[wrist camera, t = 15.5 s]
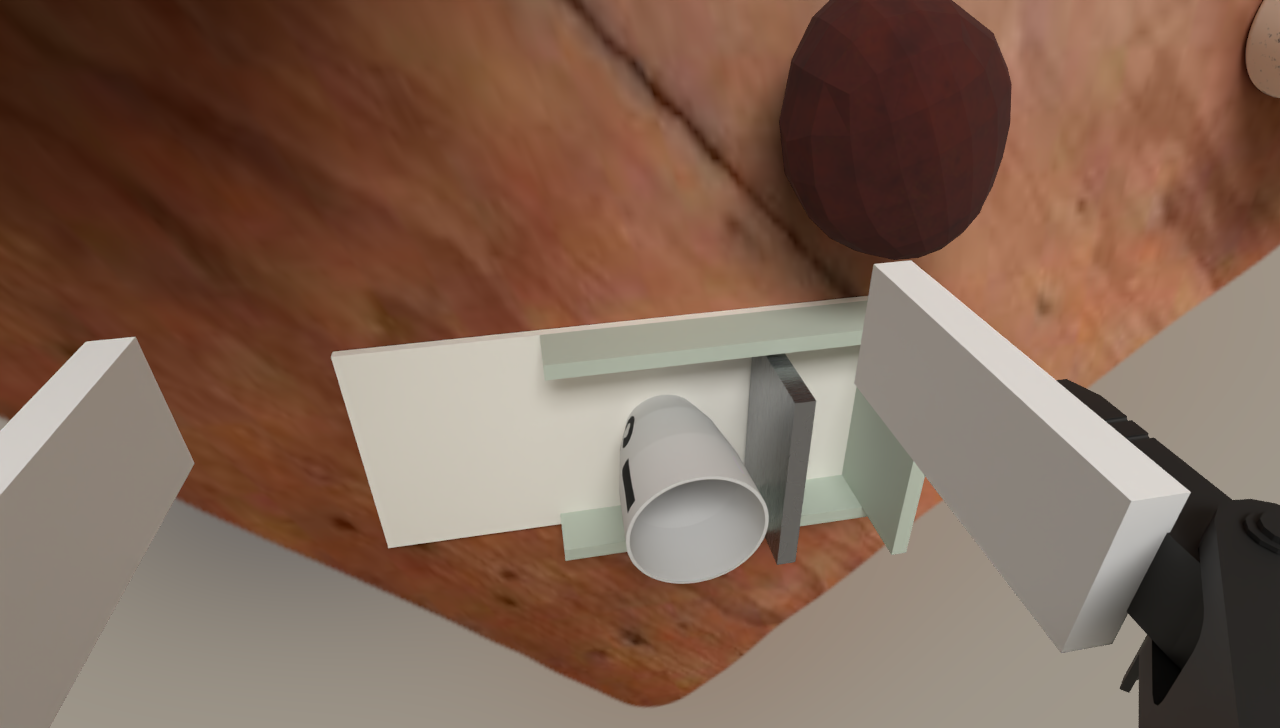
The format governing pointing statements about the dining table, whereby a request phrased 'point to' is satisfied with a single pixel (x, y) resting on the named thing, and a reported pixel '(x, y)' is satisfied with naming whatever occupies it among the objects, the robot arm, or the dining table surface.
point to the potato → (894, 123)
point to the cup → (685, 495)
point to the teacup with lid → (1265, 49)
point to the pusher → (779, 447)
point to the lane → (605, 421)
